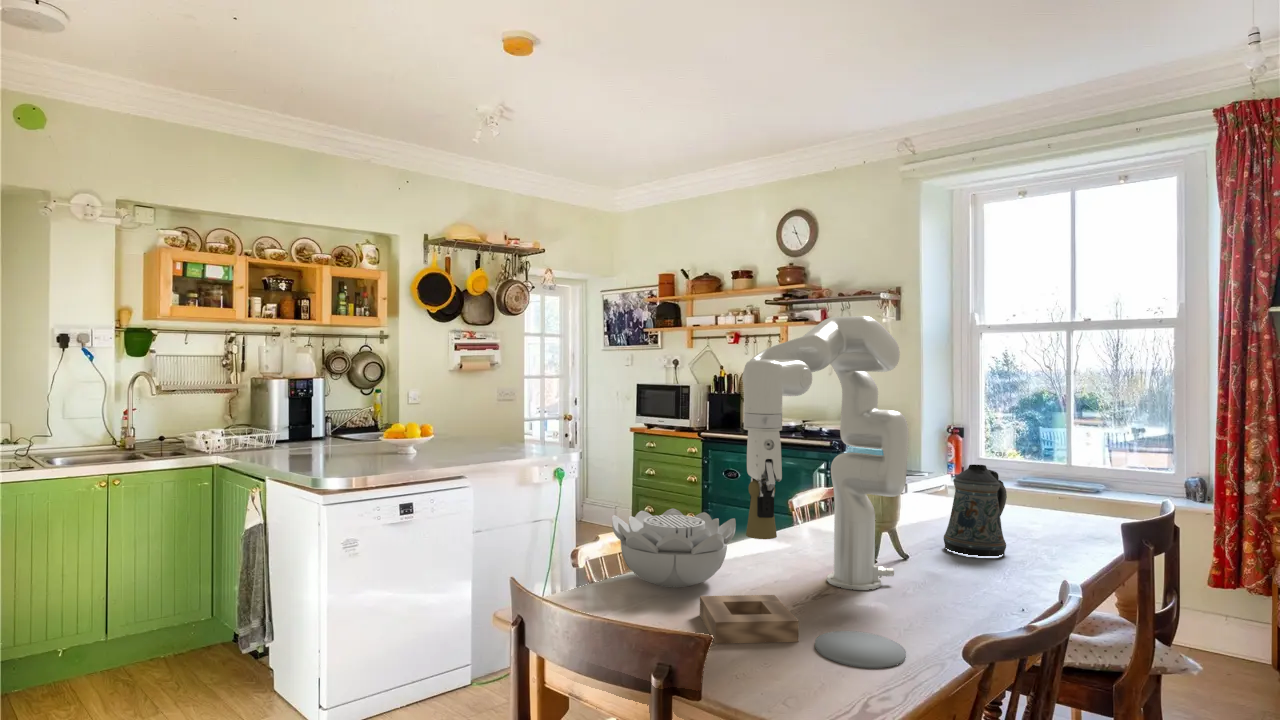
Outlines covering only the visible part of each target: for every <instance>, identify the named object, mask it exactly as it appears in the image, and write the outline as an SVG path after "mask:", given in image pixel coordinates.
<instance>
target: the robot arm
mask: <svg viewBox="0 0 1280 720" xmlns="http://www.w3.org/2000/svg"><path fill="white" fill-rule="evenodd" d="M900 356H901V352H900V347H899V343H898V342H897V340H896V339H895V338H894V336H893V335H892V334H891V333H890V332H889V331H888V330H887V329H886V328H885V327H884V326H883V324H882V323H880V322H879V321H877V320H876V319H874V318H872V317H871V316H866V315H857V316H856V315H853V316H833V317H828V318H826V319H824V320H822V321H820V322H819V323H818V324H817V325H816V326H814V327H813V328H812V329H810V330H808V331H807V332H806V333H805V334H804V335H802V336H800V337H797V338H794V339H790V340H787V341H785V342H781V343H778V344H776V345H773V346H770V347H767V348H766V349H763V350H761V351H760V352H759V353H757V354H756V355H755V356H753V357H751V358H750V360H749V361H747V362H746V363H745V364H744V368H743V372H742V377H741V378H742V383H743V430H745V431H747V440H746V441H747V442H746V443H747V445H746V472H747V474H748V476H749V477H750V482H752V481H754V480H757V481H758V485H759V497H757V516H758V517H759V518H773V517H775V494H774V486H775V485H776V482H781V481H782V479H783V471H782V470H783V469H782V467H783V466H782V465H783V464H782V463H783V461H782V443H781V436H780V431H783V397H799V396H802V395H804V394H805V393H806V392H808V391H809V389H810V387H811V386H812V383H813V373H814V372H819V371H821V370H824V369H826V368H827V367H828V366H829V365H831V367H832V369H833V370H834V372H835V374H836V376H837V377H838V380H839V383H840V385H841V408H840V409H841V411H840V422H839V425H840V427H839V428H840V429H839V433H840V434H839V435H840V440H841V441H842V442H843V444H845V445H846V446H850V447H854V448H859V449H860V448H861V449H862V448H863V449H870V450H871V449H874V450H882V453H883V455H880V454H871V453H864V452H861V453H860V452H843V453H840V454H838V455H837V456H835V457H834V458H833V460H832V461H831V465H830V477H831V482H832V488H833V499H834V514H833V515H834V519H833V520H834V522H833V523H834V524H833V529H834V530H833V531H834V532H833V572H830V573H828V574H827V575H826V582H827V583H828V584H830V585H832V586H834V587H838V588H840V587H841V589H846V590H852V589H853V591H870V590H869V589H872V590H877V589H879V588H880V587H881V586H882V581H881V578H882V577H894V575H895V570H894V568H893V567H889V568H888V567H884V566H878V565H876V564H875V558H876V557H875V555H876V554H875V549H876V548H875V547H876V546H875V545H876V544H875V543H876V542H875V539H876V538H875V537H876V512H875V508H874V505H873V503H872V502H871V499H870V498H869V496H868V495H872V496H873V495H874V496H882V497H889V498H890V497H892V498H893V497H898V496H900V495H901V494H902V493H903V492H904V489H905V487H906V481H907V474H908V473H907V471H908V470H907V469H908V452H909V451H908V449H909V427H908V426H909V424H908V421H907V419H906V417H905V415H904V414H902V412H900V411H897V410H892V409H891V410H890V409H879V407H878V406H879V405H878V403H879V400H878V399H879V389H878V386H877V385H878V384H877V383H876V381H875V379H874V378H873V377H872V375H871V374H870V373H869V372H872V373H873V372H877V373H878V372H881V373H883V372H884V373H885V372H890V371H892V370H894V369H895V368H896V367H897V366H898V364H899V361H900V358H901V357H900ZM763 484H766V485H764V486H763ZM775 487H776V486H775ZM749 496H750V498H749V501H750V502H749V503H751V495H750V494H749ZM876 588H877V589H876Z"/></svg>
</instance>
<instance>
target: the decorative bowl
mask: <svg viewBox="0 0 1280 720" xmlns="http://www.w3.org/2000/svg"><path fill="white" fill-rule="evenodd" d="M611 517H612V518H611V519H612V520H611V525H612V528H611V529H612V531H613V534H614V535H615V537H616V538H617V539H618V540H620V550H621V554H622V558H623V560H624V562H625V564H626V566H627V567H628V569H629V570H631V572H632V573H634V574H635V575H636V576H637V578H640V579H641V580H643V581H645V582H648V583H651V584H653V585H656V586H660V587H666V588H684V587H685V588H686V587H690V586H694V585H699V584H701V583H704V582H706V581H708V580H709V579H711V578H712V577H713V576H714V575H715V574H716V573H717V572H718V571H719V570H720V569H721V567H722V565H723V563H724V561H725V558H726V554H727V552H728V551H727V550H728V544H729V542H731V540H733V538H734V537H735V534H736V528H737V527H736V526H737V523H736V518H730V519H728V520H727V521H724V522H723V523H722V524H721V525H720V520H719V519H720V518H713V519H712V517H711V515H710V514H709V513H707V512H705V511H703V512H700V513H698V514H696V515H695V516H692V515H691V516H689V515H684V514H683V513H682V512H681V511H680V510H678V509H676V508H670V509H666V511H664V512H663V513H662V514H661V515H660V514H659V515H652V514H650V513H649V512H648V511H645V510H640V511H639V512H637V513H636V515H635V516H631V515H630V516H628V523H626V522H625V521H624V520H623V519H622V518H620V517H619V516H618V515H615V514H614V515H612V516H611Z"/></svg>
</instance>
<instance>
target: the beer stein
mask: <svg viewBox="0 0 1280 720" xmlns="http://www.w3.org/2000/svg"><path fill="white" fill-rule="evenodd" d="M999 476H1000V475H999V473H998V472H997V471H995V470H991V469H988V468H987V465H986V464H985V465H984V464H969V465H968V467H967V468H966V469H965V470H963V471H962V472H960V473H959V474H957V475H956V476H955V477H954V478H953V480H952V482H953V486H954V489H955V490H954V497H953V502H952V507H951V512H950V517H949V521H948V524H947V528H946V529H945V533H944V535H943V541H944V542H943V543H944V549H945V548H947V549H949V550H951V551H955V552H958V553H963V554H968V555H978V556H999V555H1002V554H1004V555H1005V552H1006V550H1007V549H1006V548H1007V542H1006V540H1005V538H1004V535H1003V529H1002V528H1003V527H1002V521H1001V515H1002V514H1003V512H1004V509H1005V506H1006V503H1007V498H1008V497H1007V489H1006V487H1005V485H1004V482H1003V481H1002V480H1000V479H999Z"/></svg>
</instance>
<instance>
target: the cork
mask: <svg viewBox="0 0 1280 720" xmlns="http://www.w3.org/2000/svg"><path fill="white" fill-rule="evenodd" d="M764 485H766V484H763V486H764ZM748 493H749V496H750V495H751V503H750V502H749V503H750V505H749V511H748V517H747V525H746V530H745V531H746V533H745V536H746V537H747V538H749V539H755V540H772V539H773V540H774V539H776V538H777V537H778V536H777V535H778V534H777V527H776V519H775V516H774V517H773V518H759V517H758V516H757V497H759V485H758V481H757V480H754V481H752V482H751V481H750V483H749V484H748ZM775 493H776V486H774V495H775Z"/></svg>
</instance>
